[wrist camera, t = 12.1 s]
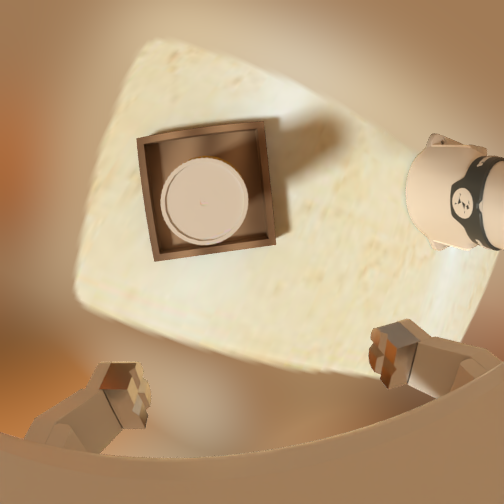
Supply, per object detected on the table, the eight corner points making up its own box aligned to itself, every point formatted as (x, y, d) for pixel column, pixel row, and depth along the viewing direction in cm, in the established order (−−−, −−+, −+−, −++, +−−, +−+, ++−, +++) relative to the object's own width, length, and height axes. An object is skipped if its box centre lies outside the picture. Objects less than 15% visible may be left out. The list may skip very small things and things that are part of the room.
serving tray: (259, 124, 34) (263, 121, 31) (271, 240, 38) (276, 244, 35) (141, 140, 32) (136, 138, 30) (157, 256, 36) (154, 261, 34)
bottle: (168, 206, 34) (139, 228, 20) (192, 152, 33) (179, 135, 18) (222, 229, 36) (229, 266, 21) (246, 176, 34) (271, 176, 20)
